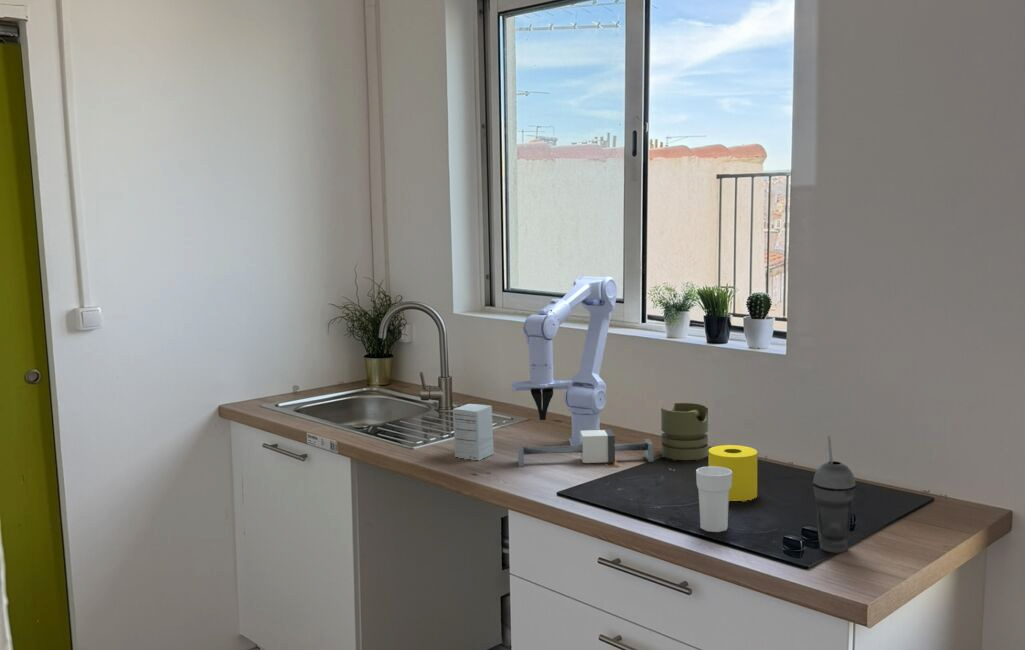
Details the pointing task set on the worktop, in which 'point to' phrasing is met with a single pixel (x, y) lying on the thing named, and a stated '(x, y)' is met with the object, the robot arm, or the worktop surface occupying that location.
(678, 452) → the piston
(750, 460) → the yellow toilet paper roll
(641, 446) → the pipe rig
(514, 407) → the worktop surface
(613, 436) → the dark grey flat block
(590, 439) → the sleeve
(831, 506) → the beverage cup
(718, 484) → the cup
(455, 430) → the supplement box
